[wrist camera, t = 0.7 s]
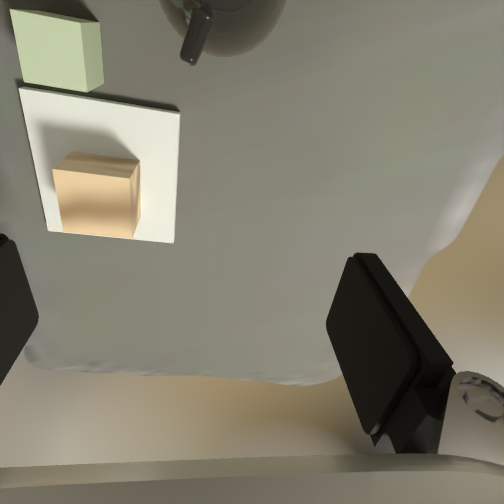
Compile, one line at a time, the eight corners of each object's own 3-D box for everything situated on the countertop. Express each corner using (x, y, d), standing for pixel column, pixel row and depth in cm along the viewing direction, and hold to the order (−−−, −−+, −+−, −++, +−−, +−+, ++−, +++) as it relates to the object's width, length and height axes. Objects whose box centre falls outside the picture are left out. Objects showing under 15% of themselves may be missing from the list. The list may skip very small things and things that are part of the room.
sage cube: (39, 10, 29) (9, 9, 25) (99, 22, 30) (80, 22, 26) (49, 73, 32) (24, 81, 28) (104, 83, 32) (87, 92, 28)
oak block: (71, 151, 35) (52, 168, 31) (140, 160, 36) (129, 178, 32) (79, 209, 39) (63, 231, 35) (141, 216, 40) (132, 238, 36)
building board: (23, 86, 32) (18, 88, 31) (180, 112, 34) (179, 114, 34) (51, 226, 41) (48, 230, 40) (174, 238, 43) (173, 243, 43)
